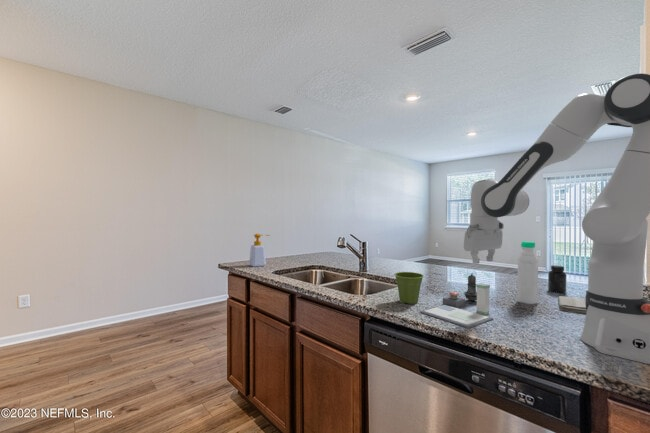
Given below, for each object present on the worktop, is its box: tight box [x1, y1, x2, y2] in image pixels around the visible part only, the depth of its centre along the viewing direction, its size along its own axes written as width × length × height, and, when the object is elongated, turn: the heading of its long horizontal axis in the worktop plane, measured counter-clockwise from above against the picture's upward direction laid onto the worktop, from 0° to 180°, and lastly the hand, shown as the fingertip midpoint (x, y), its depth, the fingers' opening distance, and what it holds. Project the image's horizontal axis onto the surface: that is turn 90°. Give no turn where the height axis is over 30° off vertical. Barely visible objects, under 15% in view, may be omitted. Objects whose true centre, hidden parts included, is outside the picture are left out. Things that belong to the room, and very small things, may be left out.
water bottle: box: [516, 240, 539, 305], centre depth 126 cm, size 7×7×25 cm
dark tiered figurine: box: [463, 273, 478, 305], centre depth 126 cm, size 6×6×12 cm
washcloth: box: [557, 295, 587, 315], centre depth 120 cm, size 12×18×3 cm, turn 145°
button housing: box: [442, 295, 466, 308], centre depth 122 cm, size 6×6×2 cm
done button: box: [448, 291, 460, 300], centre depth 122 cm, size 4×4×4 cm
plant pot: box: [393, 271, 425, 305], centre depth 127 cm, size 12×12×11 cm
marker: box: [476, 282, 491, 316], centre depth 112 cm, size 3×3×10 cm
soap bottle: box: [248, 233, 270, 268], centre depth 214 cm, size 10×14×22 cm
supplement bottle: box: [547, 265, 567, 294], centre depth 144 cm, size 7×7×12 cm
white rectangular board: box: [419, 304, 494, 329], centre depth 109 cm, size 19×15×1 cm
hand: (483, 262), depth 112 cm, fingers open, 8 cm apart
